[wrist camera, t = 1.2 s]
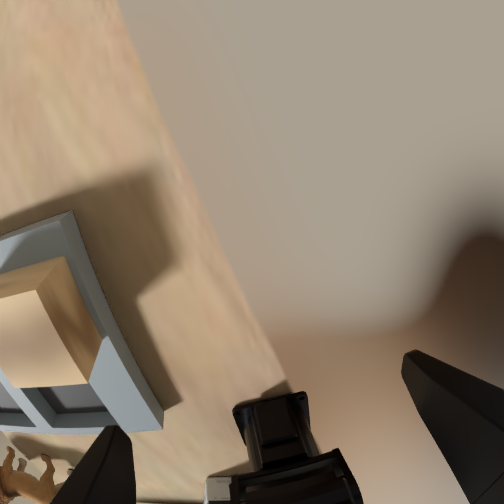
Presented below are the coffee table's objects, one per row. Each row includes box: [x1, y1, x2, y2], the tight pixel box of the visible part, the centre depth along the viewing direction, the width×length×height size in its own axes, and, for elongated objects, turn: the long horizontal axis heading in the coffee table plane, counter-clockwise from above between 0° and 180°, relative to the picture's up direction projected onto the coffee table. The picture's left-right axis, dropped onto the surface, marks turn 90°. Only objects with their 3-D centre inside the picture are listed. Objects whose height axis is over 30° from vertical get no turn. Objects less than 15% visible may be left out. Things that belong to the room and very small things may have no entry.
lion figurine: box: [0, 446, 72, 504], centre depth 22 cm, size 15×5×9 cm, turn 96°
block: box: [0, 255, 103, 388], centre depth 15 cm, size 6×6×4 cm
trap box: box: [0, 210, 164, 434], centre depth 19 cm, size 18×24×2 cm
